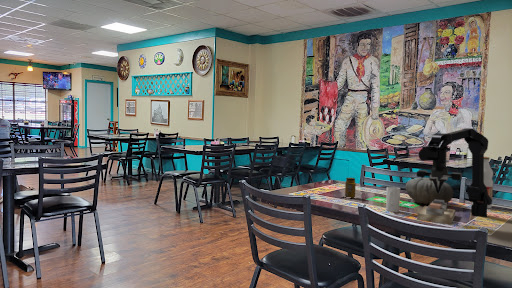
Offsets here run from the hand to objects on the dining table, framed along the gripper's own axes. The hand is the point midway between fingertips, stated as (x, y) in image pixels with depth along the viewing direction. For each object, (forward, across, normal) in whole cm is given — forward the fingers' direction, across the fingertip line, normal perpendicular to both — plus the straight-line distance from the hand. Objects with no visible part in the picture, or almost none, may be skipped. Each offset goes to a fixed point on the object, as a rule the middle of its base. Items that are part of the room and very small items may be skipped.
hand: (438, 193), depth 174 cm
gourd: (+13, -10, +39) cm, 42 cm away
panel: (+13, -1, +4) cm, 13 cm away
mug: (+13, -22, +4) cm, 25 cm away
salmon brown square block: (+8, -1, -2) cm, 8 cm away
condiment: (+13, -52, +25) cm, 59 cm away
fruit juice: (+14, +16, +48) cm, 53 cm away
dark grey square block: (+8, -1, +10) cm, 13 cm away
